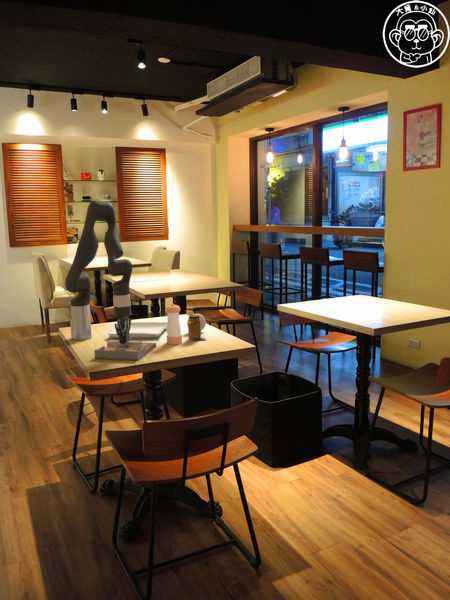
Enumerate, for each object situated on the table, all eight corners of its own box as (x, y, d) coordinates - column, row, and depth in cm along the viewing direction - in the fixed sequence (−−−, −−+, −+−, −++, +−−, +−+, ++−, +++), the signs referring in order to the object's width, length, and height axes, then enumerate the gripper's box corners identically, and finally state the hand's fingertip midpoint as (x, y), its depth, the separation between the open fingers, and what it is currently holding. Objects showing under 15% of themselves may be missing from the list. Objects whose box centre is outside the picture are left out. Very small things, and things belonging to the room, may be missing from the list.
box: (95, 358, 228) (94, 349, 228) (103, 353, 237) (103, 345, 236) (138, 360, 224) (137, 351, 223) (145, 355, 232) (145, 346, 232)
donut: (188, 333, 272) (187, 314, 270) (186, 332, 275) (186, 313, 273) (206, 332, 274) (206, 313, 273) (205, 330, 278) (204, 312, 276)
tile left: (103, 355, 231) (102, 350, 230) (108, 351, 236) (107, 346, 235) (114, 356, 230) (113, 350, 229) (118, 351, 235) (118, 346, 234)
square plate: (171, 328, 287) (170, 321, 287) (160, 340, 260) (159, 332, 260) (123, 328, 290) (122, 321, 289) (107, 340, 263) (106, 332, 262)
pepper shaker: (181, 344, 250) (179, 305, 247) (166, 344, 250) (164, 305, 247) (182, 340, 257) (180, 302, 254) (167, 341, 257) (165, 302, 254)
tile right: (124, 356, 229) (124, 351, 228) (129, 353, 234) (128, 347, 233) (135, 357, 228) (135, 351, 227) (139, 353, 233) (139, 348, 232)
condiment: (186, 338, 262) (186, 315, 260) (203, 337, 264) (202, 313, 262) (189, 341, 255) (188, 317, 253) (206, 340, 257) (205, 316, 255)
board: (103, 353, 237) (103, 349, 237) (116, 345, 250) (116, 341, 250) (145, 355, 233) (145, 350, 232) (156, 347, 246) (156, 342, 246)
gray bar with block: (106, 348, 235) (105, 330, 234) (109, 346, 238) (108, 329, 236) (140, 349, 232) (139, 331, 230) (142, 347, 234) (141, 329, 233)
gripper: (120, 301, 239) (122, 338, 242) (107, 307, 225) (109, 346, 228) (136, 302, 237) (137, 339, 240) (123, 307, 224) (125, 346, 227)
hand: (124, 342), depth 234 cm, fingers closed on gray bar with block, 3 cm apart
